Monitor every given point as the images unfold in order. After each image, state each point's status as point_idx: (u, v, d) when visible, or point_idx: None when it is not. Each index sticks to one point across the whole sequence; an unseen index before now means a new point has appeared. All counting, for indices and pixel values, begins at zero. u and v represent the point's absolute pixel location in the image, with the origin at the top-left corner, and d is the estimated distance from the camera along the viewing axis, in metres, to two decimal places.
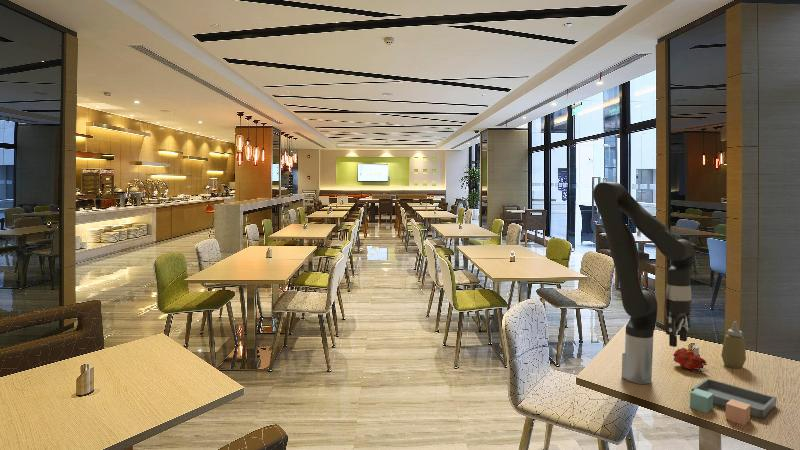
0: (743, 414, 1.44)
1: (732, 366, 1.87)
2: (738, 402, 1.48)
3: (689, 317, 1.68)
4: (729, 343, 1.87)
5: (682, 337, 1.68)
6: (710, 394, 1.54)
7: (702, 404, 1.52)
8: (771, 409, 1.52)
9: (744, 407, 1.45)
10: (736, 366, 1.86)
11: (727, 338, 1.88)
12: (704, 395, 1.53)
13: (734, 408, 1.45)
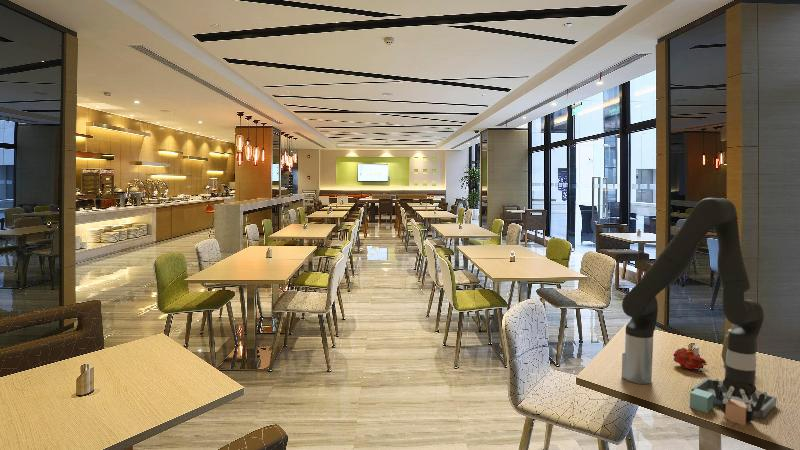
0: (743, 414, 1.44)
1: None
2: (738, 402, 1.48)
3: None
4: None
5: None
6: (710, 394, 1.54)
7: (702, 404, 1.52)
8: (771, 409, 1.52)
9: (744, 407, 1.45)
10: None
11: (727, 338, 1.88)
12: (704, 395, 1.53)
13: (734, 408, 1.45)
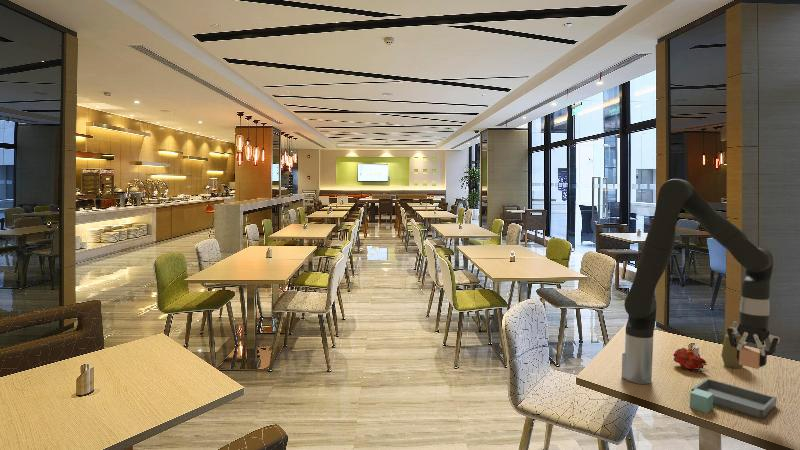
0: (756, 358, 1.48)
1: (732, 366, 1.87)
2: (752, 348, 1.53)
3: None
4: (729, 343, 1.87)
5: None
6: (710, 394, 1.54)
7: (702, 404, 1.52)
8: (771, 409, 1.52)
9: (757, 352, 1.49)
10: (736, 366, 1.86)
11: (727, 338, 1.88)
12: (704, 395, 1.53)
13: (748, 353, 1.50)
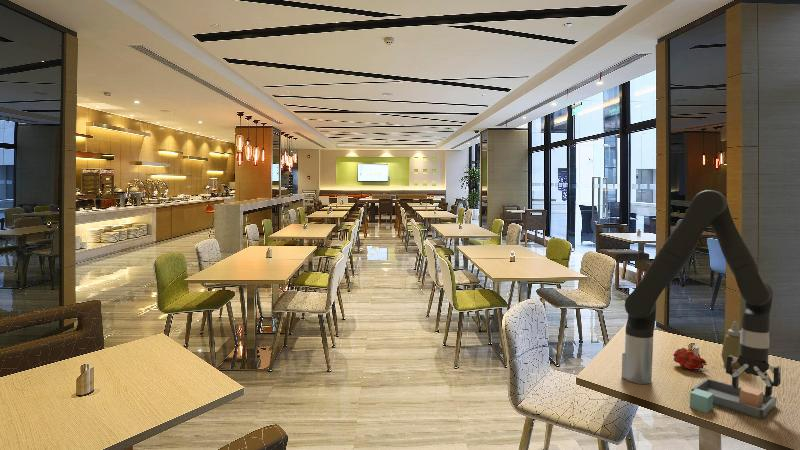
0: (756, 400, 1.51)
1: None
2: (751, 389, 1.56)
3: None
4: (729, 343, 1.87)
5: (737, 384, 1.57)
6: (710, 394, 1.54)
7: (702, 404, 1.52)
8: (771, 409, 1.52)
9: (757, 393, 1.52)
10: (736, 366, 1.86)
11: (727, 338, 1.88)
12: (704, 395, 1.53)
13: (748, 394, 1.53)
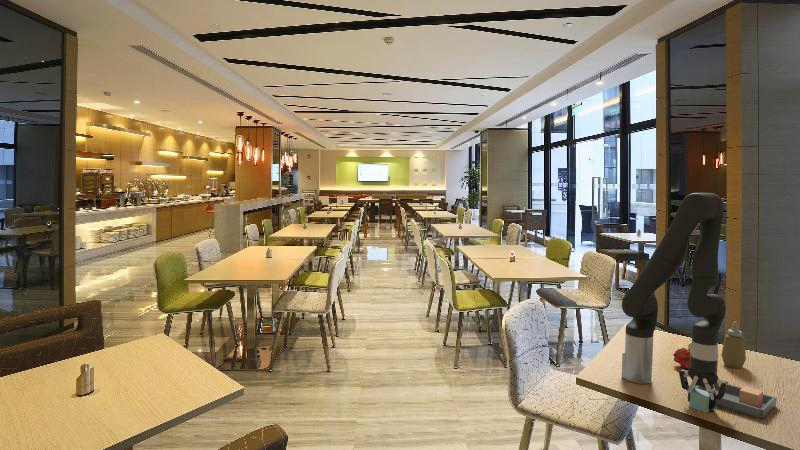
0: (756, 400, 1.51)
1: (732, 366, 1.87)
2: (751, 389, 1.56)
3: None
4: (729, 343, 1.87)
5: None
6: None
7: (702, 404, 1.52)
8: (771, 409, 1.52)
9: (757, 393, 1.52)
10: (736, 366, 1.86)
11: (727, 338, 1.88)
12: (704, 395, 1.53)
13: (748, 394, 1.53)
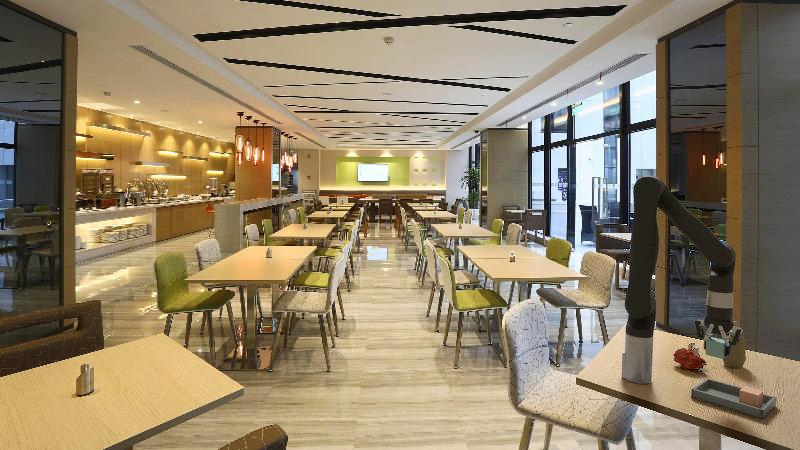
0: (756, 400, 1.51)
1: (732, 366, 1.87)
2: (751, 389, 1.56)
3: None
4: None
5: None
6: None
7: (717, 350, 1.58)
8: (771, 409, 1.52)
9: (757, 393, 1.52)
10: (736, 366, 1.86)
11: None
12: (720, 342, 1.58)
13: (748, 394, 1.53)
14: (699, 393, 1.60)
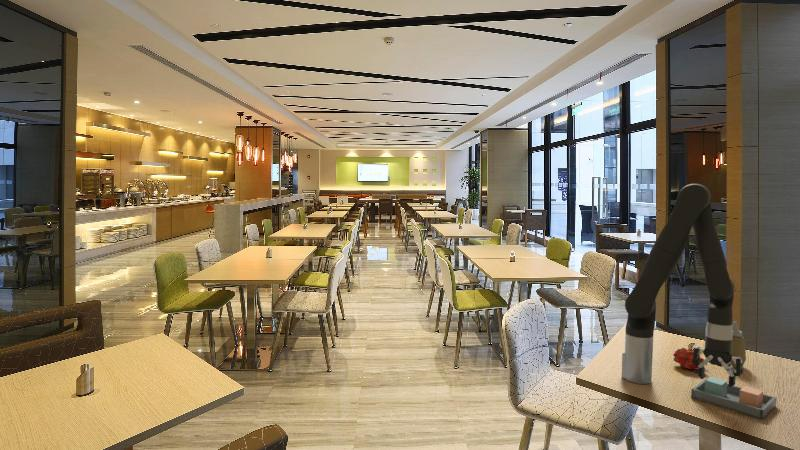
0: (756, 400, 1.51)
1: None
2: (751, 389, 1.56)
3: None
4: None
5: (703, 374, 1.65)
6: (724, 381, 1.61)
7: (716, 391, 1.60)
8: (771, 409, 1.52)
9: (757, 393, 1.52)
10: None
11: None
12: (718, 382, 1.61)
13: (748, 394, 1.53)
14: (699, 393, 1.60)
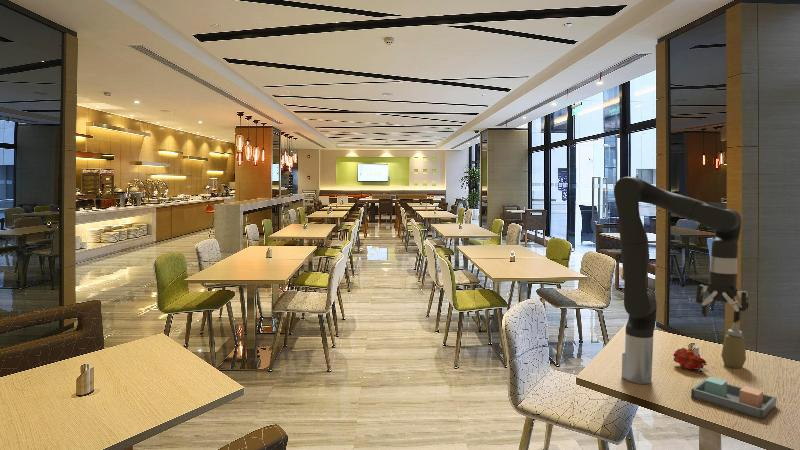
0: (756, 400, 1.51)
1: (732, 366, 1.87)
2: (751, 389, 1.56)
3: None
4: (729, 343, 1.87)
5: (707, 312, 1.59)
6: (724, 381, 1.61)
7: (716, 391, 1.60)
8: (771, 409, 1.52)
9: (757, 393, 1.52)
10: (736, 366, 1.86)
11: (727, 338, 1.88)
12: (718, 382, 1.61)
13: (748, 394, 1.53)
14: (699, 393, 1.60)
